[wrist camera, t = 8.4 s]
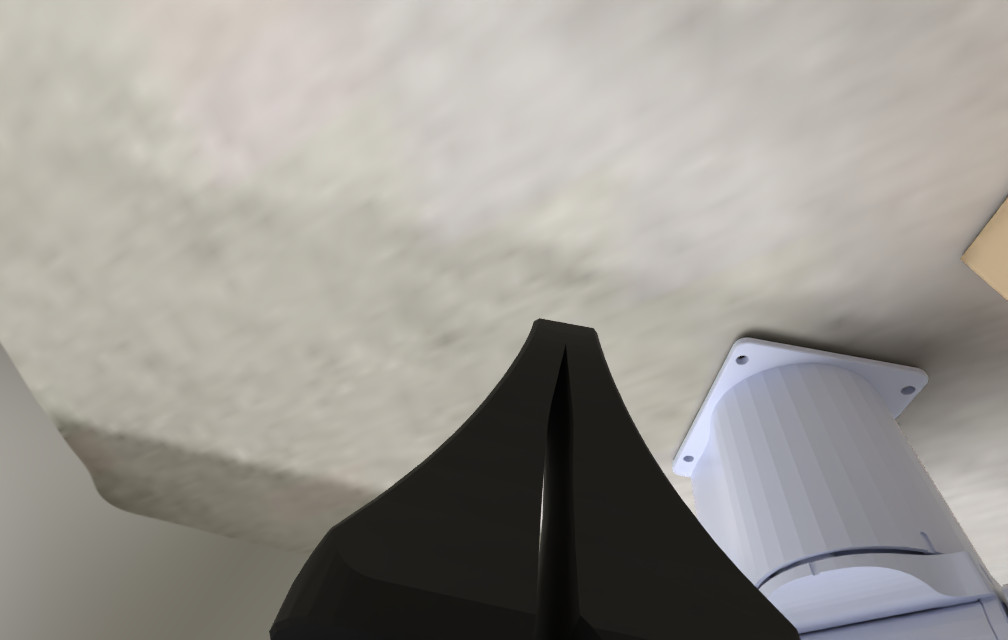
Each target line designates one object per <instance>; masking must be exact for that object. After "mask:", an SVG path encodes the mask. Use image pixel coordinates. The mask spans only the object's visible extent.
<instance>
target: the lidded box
mask: <svg viewBox="0 0 1008 640" xmlns="http://www.w3.org/2000/svg"><path fill="white" fill-rule="evenodd" d="M960 259H961V260H962V261H963V262H964V263H965V264H966V265H967V266H969V267H970V268H971V269H972V270H973V271H974V272H975V273H976V274H978V275H979V276H980V277H981V278H982V279H983V280H984V281H986V282H987V283H988V284H989V285H990V286H991V287H992V288H994V289H995V290H996V291H997V292H998V293H999V294H1000V295H1002V296H1003V297H1004V298H1005V299H1006V300H1007V301H1008V198H1007V199H1006V200H1005V202H1004V203H1003V204H1002V205H1001V207H1000V208H999V209H998V211H997V212H996V213H995V214H994V216H993V217H992V218H991V220H990V221H989V222H988V224H987V225H986V226H985V227H984V229H983V230H982V231H981V233H980V234H979V235H978V236H977V238H976V239H975V240H974V242H973V243H972V244H971V245H970V247H969V248H968V249H967V251H966V252H965V253H964V254H963V256H962V257H961V258H960Z"/></svg>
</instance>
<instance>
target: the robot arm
mask: <svg viewBox="0 0 1008 640" xmlns="http://www.w3.org/2000/svg"><path fill="white" fill-rule="evenodd" d="M739 356H745V357H744V358H742V359H737V357H739ZM928 381H929V377H928V376H927V374H926V373H925V372H924V371H923V370H922V369H920V368H915V367H910V366H904V365H899V364H893V363H887V362H882V361H876V360H871V359H865V358H860V357H854V356H849V355H843V354H838V353H832V352H827V351H821V350H815V349H810V348H804V347H799V346H793V345H788V344H782V343H777V342H771V341H766V340H760V339H754V338H741V339H739V340H737V341H736V342H735V343H734V344H733V346H732V348H731V350H730V352H729V354H728V356H727V358H726V360H725V362H724V364H723V366H722V368H721V370H720V371H719V373H718V375H717V377H716V379H715V381H714V383H713V385H712V387H711V389H710V391H709V393H708V395H707V397H706V399H705V401H704V403H703V404H702V406H701V408H700V410H699V412H698V414H697V416H696V418H695V420H694V422H693V424H692V426H691V428H690V430H689V432H688V434H687V436H686V438H685V439H684V441H683V443H682V445H681V447H680V449H679V451H678V453H677V455H676V457H675V459H674V461H673V463H672V470H673V472H674V473H675V474H677V475H681V476H686V477H691V483H692V489H693V495H694V501H695V507H696V513H697V518H696V517H695V516H694V514H693V513H692V512H691V510H690V509H689V508H688V507H687V505H686V504H685V503H684V502H683V500H682V499H681V497H680V496H679V495H678V493H677V492H676V490H675V489H674V487H673V486H672V485H671V483H670V482H669V480H668V479H667V477H666V476H665V474H664V473H663V471H662V470H661V468H660V467H659V465H658V464H657V462H656V460H655V459H654V457H653V456H652V454H651V452H650V451H649V449H648V447H647V446H646V444H645V442H644V440H643V439H642V437H641V435H640V433H639V431H638V430H637V428H636V426H635V424H634V422H633V420H632V418H631V417H630V415H629V412H628V410H627V408H626V406H625V404H624V402H623V400H622V398H621V396H620V393H619V391H618V389H617V387H616V385H615V382H614V380H613V378H612V375H611V373H610V370H609V368H608V365H607V362H606V360H605V357H604V354H603V351H602V348H601V345H600V342H599V338H598V335H597V332H596V331H595V330H594V328H589V327H584V326H578V325H573V324H567V323H562V322H556V321H551V320H545V319H540V318H539V319H538V320H536V321H534V322H533V326H532V329H531V331H530V334H529V336H528V338H527V340H526V342H525V344H524V345H523V347H522V349H521V351H520V352H519V354H518V356H517V357H516V359H515V360H514V362H513V363H512V365H511V366H510V367H509V369H508V370H507V372H506V373H505V375H504V376H503V378H502V379H501V380H500V382H499V383H498V384H497V385H496V387H495V388H494V389H493V390H492V392H491V393H490V394H489V395H488V397H487V398H486V399H485V400H484V402H483V403H482V404H481V405H480V406H479V407H478V408H477V410H476V411H475V412H474V413H473V414H472V415H471V416H470V417H469V418H468V419H467V420H466V422H465V423H464V424H463V425H462V426H461V427H460V428H459V429H458V430H457V431H456V432H455V433H454V434H453V435H452V436H451V437H449V438H448V439H447V440H446V441H445V442H444V443H443V444H442V445H441V446H440V447H439V448H438V449H437V450H436V451H434V452H433V453H432V454H431V455H430V456H429V457H428V458H427V459H425V460H424V461H423V462H422V463H421V464H419V465H418V466H417V467H416V468H414V469H413V470H412V471H411V472H409V473H408V474H407V475H405V476H404V477H403V478H402V479H400V480H399V481H398V482H397V483H395V484H394V485H393V486H391V487H390V488H389V489H388V490H386V491H385V492H384V493H382V494H381V495H379V496H378V497H377V498H375V499H374V500H372V501H371V502H369V503H368V504H366V505H365V506H363V507H362V508H360V509H359V510H357V511H356V512H354V513H353V514H351V515H350V516H348V517H347V518H345V519H344V520H342V521H341V522H340V523H338V524H336V525H335V526H333V527H332V528H331V529H330V530H329V531H328V533H327V534H326V535H325V536H324V538H323V539H322V540H321V542H320V543H319V544H318V546H317V547H316V548H315V550H314V551H313V553H312V554H311V556H310V557H309V559H308V560H307V562H306V563H305V564H304V566H303V568H302V569H301V571H300V573H299V574H298V576H297V577H296V579H295V580H294V582H293V584H292V586H291V588H290V590H289V592H288V594H287V596H286V598H285V600H284V602H283V604H282V607H281V608H280V611H279V613H278V615H277V617H276V619H275V621H274V623H273V625H272V628H271V630H270V631H269V632H270V639H271V640H1008V584H1005V585H1003V587H1001V585H1000V584H999V583H998V582H997V581H996V580H995V579H994V578H993V577H992V576H991V574H990V573H989V571H988V569H987V568H986V566H985V565H984V563H983V561H982V560H981V558H980V557H979V555H978V553H977V552H976V550H975V548H974V547H973V545H972V544H971V542H970V540H969V539H968V537H967V535H966V534H965V532H964V531H963V529H962V527H961V526H960V524H959V522H958V521H957V519H956V518H955V516H954V514H953V513H952V511H951V510H950V508H949V506H948V505H947V503H946V501H945V500H944V498H943V497H942V495H941V493H940V492H939V490H938V488H937V487H936V485H935V484H934V482H933V480H932V479H931V477H930V475H929V474H928V472H927V471H926V469H925V467H924V466H923V464H922V463H921V461H920V459H919V458H918V456H917V454H916V453H915V451H914V450H913V448H912V446H911V445H910V443H909V441H908V440H907V438H906V437H905V435H904V433H903V432H902V430H901V428H900V427H899V425H898V424H897V422H896V420H895V419H896V418H897V417H898V416H899V415H900V413H901V412H902V411H903V410H904V409H905V408H906V407H907V405H908V404H909V403H910V402H911V401H912V400H913V399H914V398H915V396H916V395H917V394H918V393H919V392H920V391H921V390H922V389H923V387H924V386H925V385H926V384H927V383H928ZM907 386H908V387H907ZM904 387H906V388H904ZM543 475H544V491H543V519H542V533H541V543H540V551H539V536H540V520H541V504H542V488H543ZM538 558H539V559H538Z"/></svg>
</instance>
